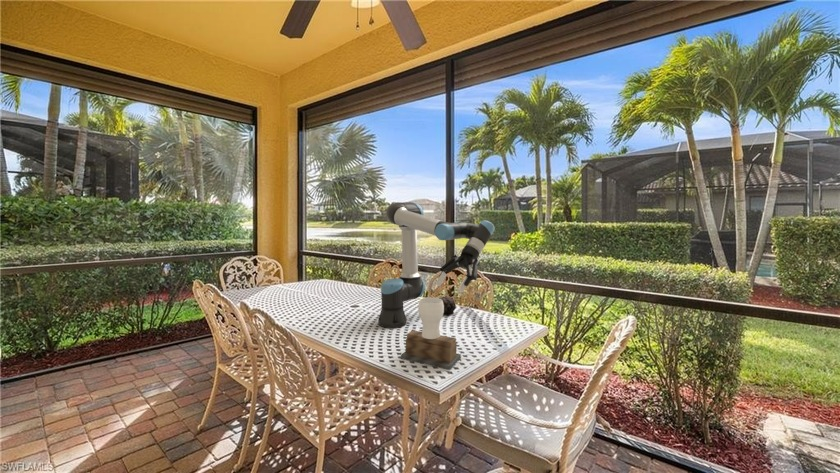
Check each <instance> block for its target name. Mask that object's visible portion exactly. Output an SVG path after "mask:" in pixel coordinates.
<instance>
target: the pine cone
mask: <svg viewBox="0 0 840 473" xmlns="http://www.w3.org/2000/svg"><path fill="white" fill-rule="evenodd" d="M438 298H439V299H442V300H443V305H444V313H443V316H450V315H454V313H455V312H454V311H455V310H456V308H457V305H456V302H455V300H454V299H453V297H451V296H442V297H438Z"/></svg>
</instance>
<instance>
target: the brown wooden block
mask: <svg viewBox="0 0 840 473" xmlns="http://www.w3.org/2000/svg"><path fill="white" fill-rule="evenodd" d="M461 358H462V355H461V353H458V352H457V338H456V337H451V336H447V335H446V336H445V335H441V334H440V337H439V338H437V339H426V338H423V337H422V331H419V330H413V329H412V330H410V331H409V332H408V333H407V334H406V338H405V351H404V352H403V353H401V355H400V360H401V359H402V360H406V361H409V362H415V363H419V364H422V365H423V364H424V365H426V366H427V365H428V366H432V367H436V368H441V369H445V370H448V371H449V370H451V369H452V368H454V366H455V365H456V364H457V363H458V362H459V360H460V359H461Z"/></svg>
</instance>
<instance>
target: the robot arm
mask: <svg viewBox="0 0 840 473" xmlns="http://www.w3.org/2000/svg"><path fill="white" fill-rule="evenodd" d="M385 216H386V219H387V220H388V222H389V223H391V224H393V225H396V226H398V228H399V229H400V230H401V252H402V253H401V254H402V256H401V257H402V260H401V261H402V262H401V264H402V273H401V274H400V275H399V278H398V277H397V278H389V279H386V280H384V281H383V282H382V283H381V289H380V293H381V294H380V296H381V297H380V298H381V300H380V301H381V311H380V312H379V317H378V320H377V321H378V322H377V323H378V326H380V327H381V328H386V329H396V328H401V327H405V326H406V325H407V324H408V323H407V316H406V313H405V310H404V303H405V302H408V301H412V300H416V299H418V298H421V297H422V296H423V295H424V293H425V290H426V283H425V281H424V279H423V278H422V276H421V274H420V273H419V263H418V260H419V259H418V254H419V253H418V231H420V232H424V233H427V234H429V235H432V236H434V237H436V238H437V240H439V241H451V240H458V239H459V240H460V239H468V240H467V242H466V243H465V246H464V247H463V248H462V250H461V253H460V255H459V256H457V254H454V255H453V256H452V258H451V259H449V260H448V261H447V262H446V263H445V264H443V265H441V267H440V268H439V271H440V274H439V275H438V278H437V279H436V281H435V284H436V286H437V287H441V285H442V284H443V282H444V281H445V279H446V277H447V276H448V275H447V274H449V273H451V272H452V271H454V270H455V269H459V268H464V269H466V270H465V271H466V274H467V275H466V276H464V278H463V279H462V281H461V283H460V285H459V286H458V287H457V291H458V292H459V293H460V294H463V292H464V290H465V289H466V288H467V287H468V286H469V284H470V282H471V281H476V280H477V279H478V271H479V265H480V263H481V262H480V261H479V259H478V257H479V256H480V254H481V253H482V251H483V250H484V249H485V246H486V245H487V243H488V242H489V241H490V238H492V236H493V234H494V232H495V229H496V228H495V225H494V224H493V223H492V222H491V221H488V220H487V219H484V220H481V221H480V222H479V223H478V224H477V223H472V222H466V221H463V220H456V221H455V222H447V221H444V220H440V219H436V218H433V217H430V216H427V215H425V213H424V209H423V208H422V206H421V205H420V204H419V203H417V202H411V201H409V202H406V201H405V202H404V201H403V202H401V201H400V202H399V201H398V202H392V203H391V204H389V205H388V206H387V208H386V210H385Z"/></svg>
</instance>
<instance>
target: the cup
mask: <svg viewBox="0 0 840 473" xmlns="http://www.w3.org/2000/svg"><path fill="white" fill-rule="evenodd" d="M439 298H440V297H431V296H430V297H423V298H420V299H419V302H418V305H417V308H418V310H417V311H418V316H419V318H420V320H421V322H422V323H421V324H422V330H421V332H422V337H423V338H426V339H437V338H439V337H440V335H441V331H440V324H441V323H440V322H441V320H442V319H443V316H444V315H443V313H444V305H443V300H442V299H439Z"/></svg>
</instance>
